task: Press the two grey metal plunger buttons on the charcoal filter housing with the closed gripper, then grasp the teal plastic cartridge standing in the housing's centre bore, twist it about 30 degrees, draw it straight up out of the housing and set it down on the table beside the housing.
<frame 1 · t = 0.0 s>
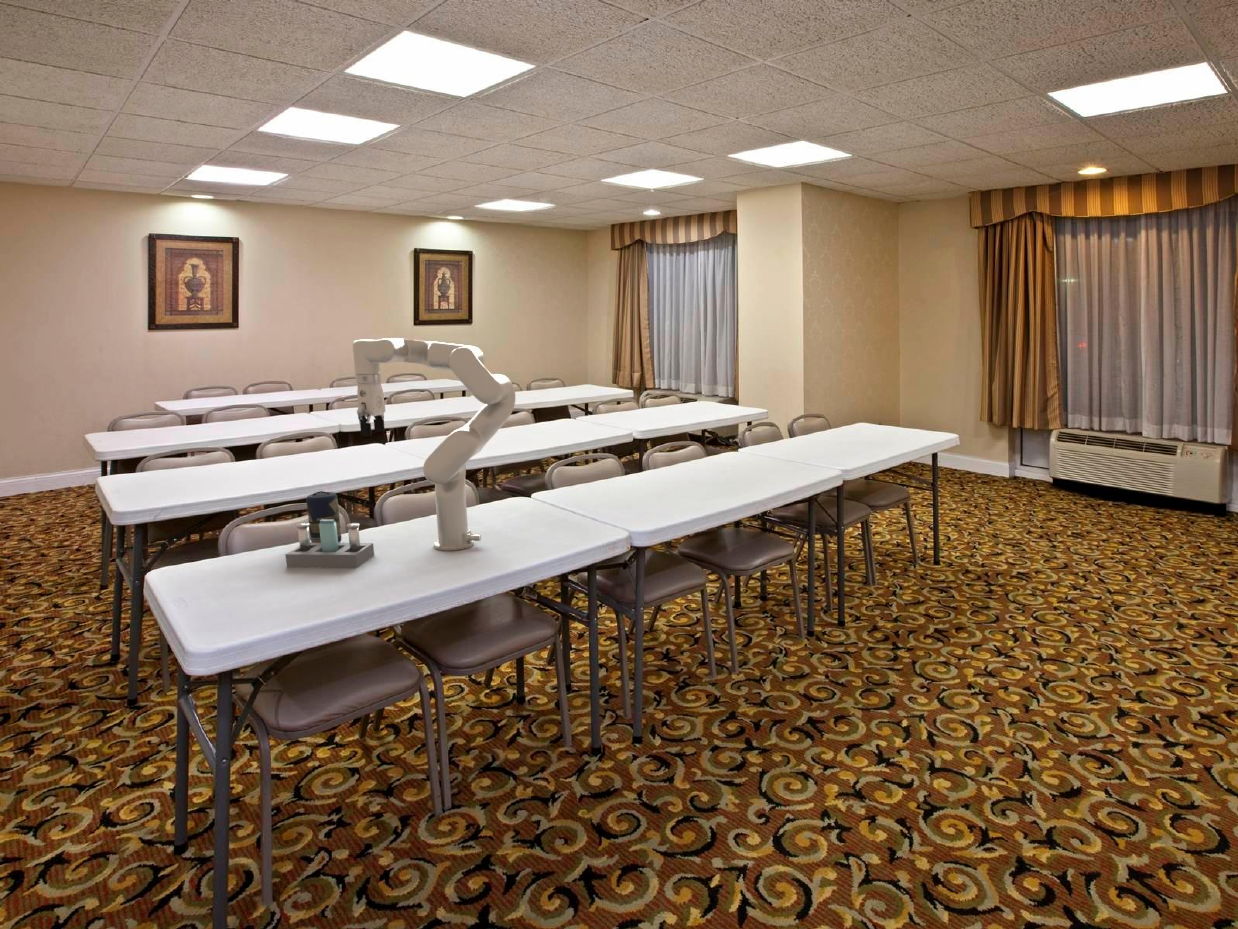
hand: (373, 433, 236), 37 cm above the table, tool pointing down, fingers open, 9 cm apart
plunger 2: (354, 538, 225), point 7 cm above the table, slide at 0.0 cm
cartridge: (329, 540, 226), in the housing
housing: (331, 561, 227), on the table
plunger 1: (304, 537, 227), point 7 cm above the table, slide at 0.0 cm
canister: (326, 545, 245), on the table
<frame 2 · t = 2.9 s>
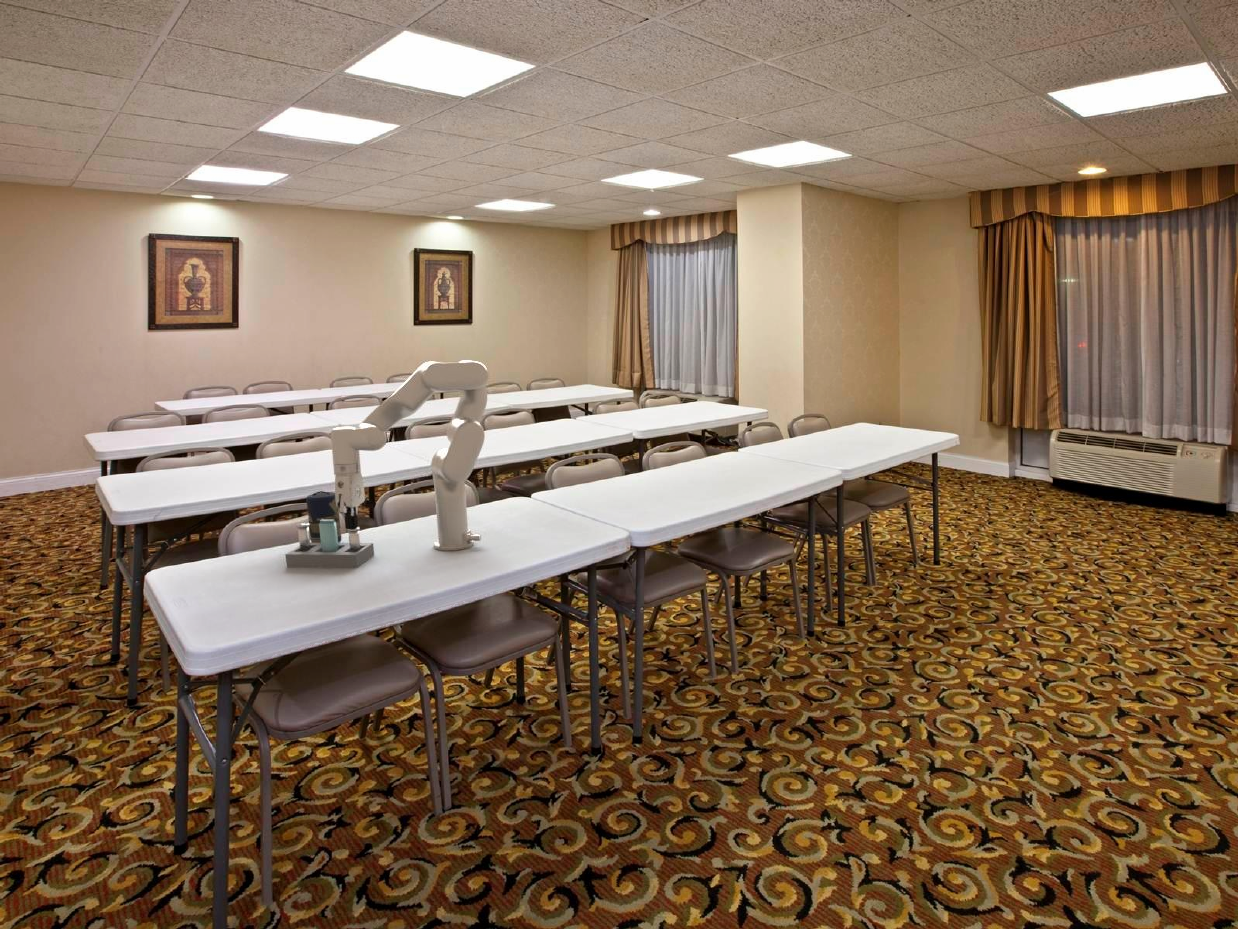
hand: (351, 528, 224), 11 cm above the table, tool pointing down, fingers closed
plunger 2: (354, 541, 225), point 6 cm above the table, slide at 1.1 cm, touching gripper
everything else where it was.
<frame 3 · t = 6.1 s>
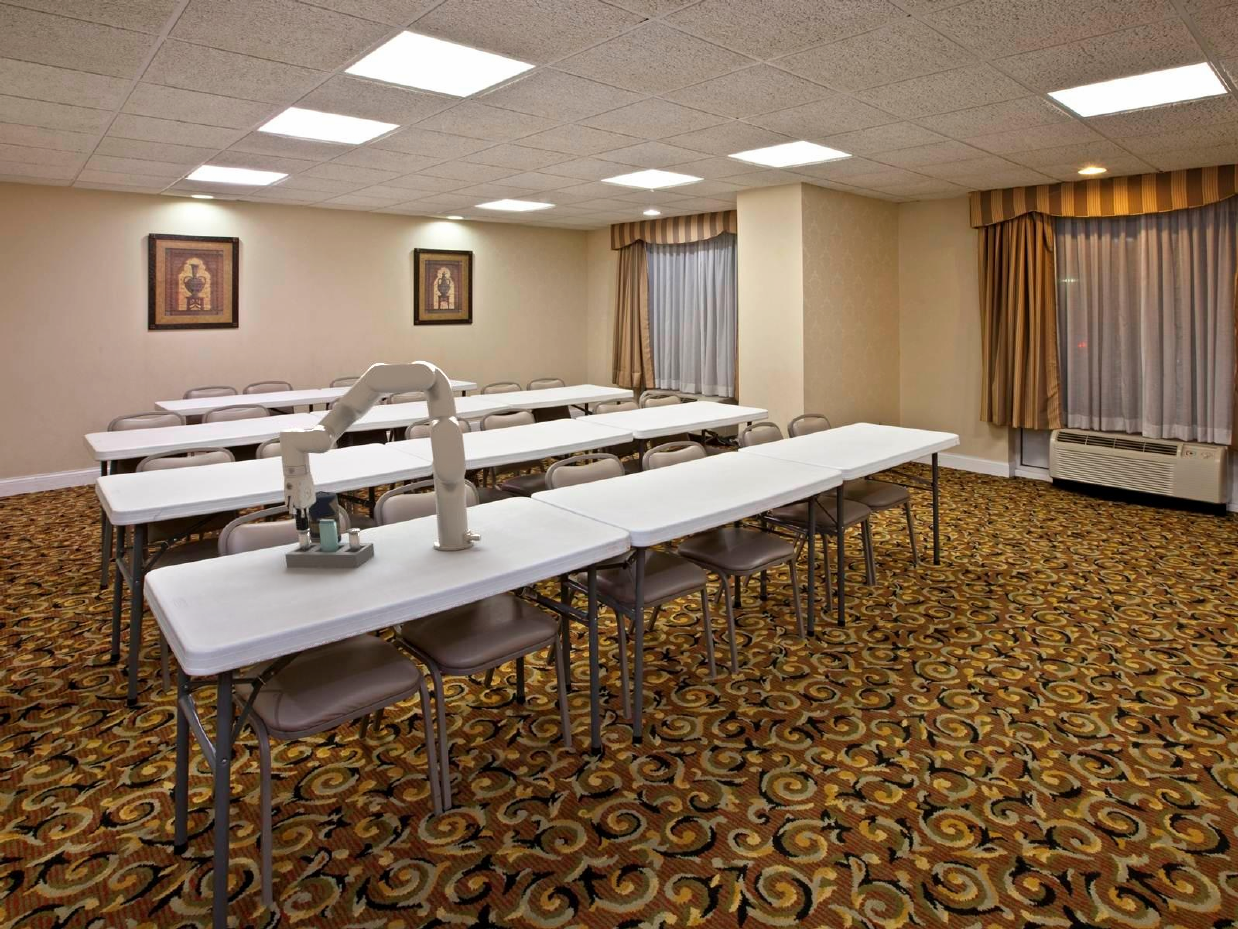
hand: (302, 529, 226), 10 cm above the table, tool pointing down, fingers closed
plunger 2: (354, 543, 225), point 6 cm above the table, slide at 1.7 cm
plunger 1: (304, 542, 227), point 6 cm above the table, slide at 1.6 cm, touching gripper
everything else where it was.
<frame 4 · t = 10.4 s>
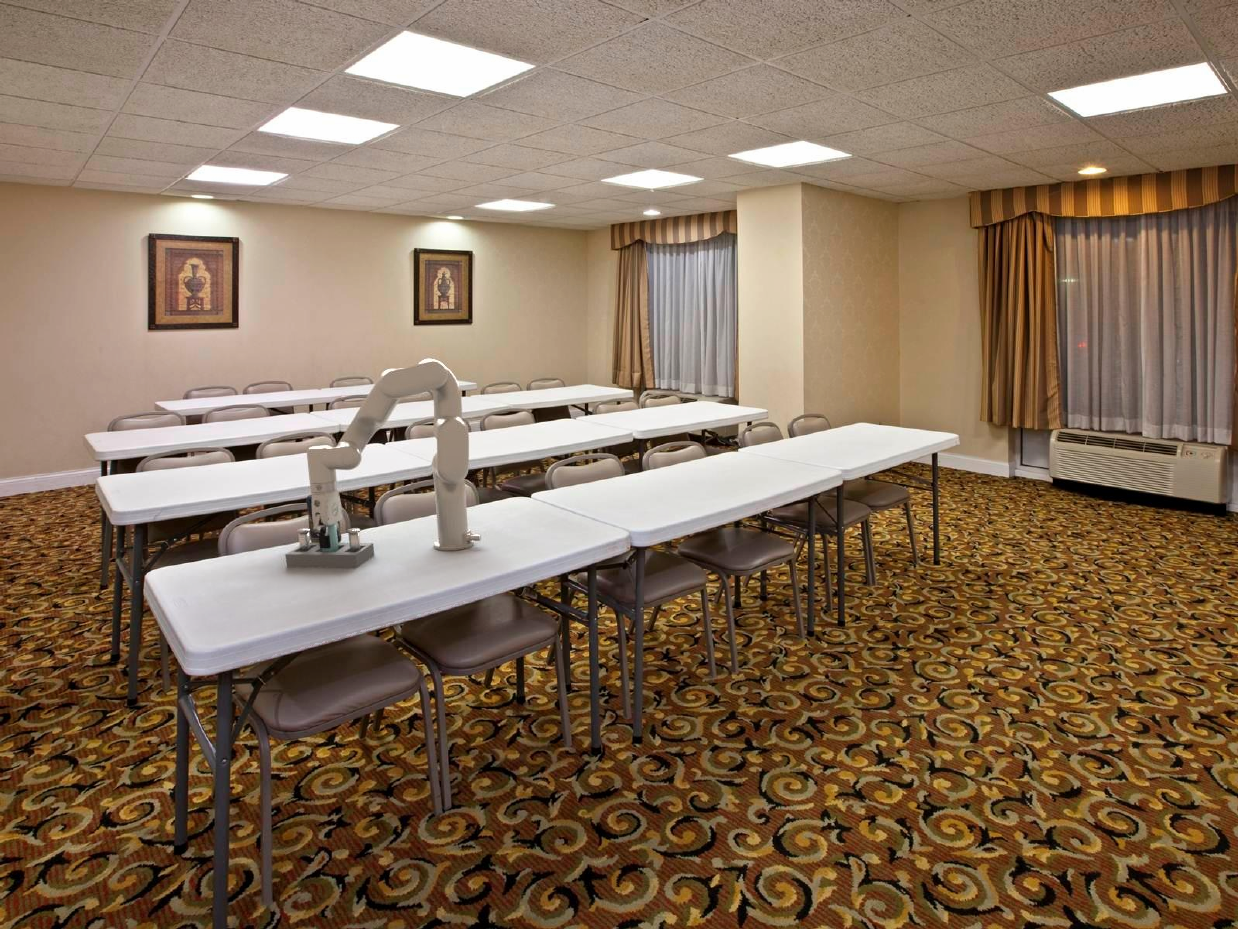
hand: (329, 544, 226), 5 cm above the table, tool pointing down, fingers closed on cartridge, 4 cm apart
cartridge: (329, 540, 226), in the housing, touching gripper
plunger 1: (304, 543, 227), point 6 cm above the table, slide at 1.7 cm
everything else where it was.
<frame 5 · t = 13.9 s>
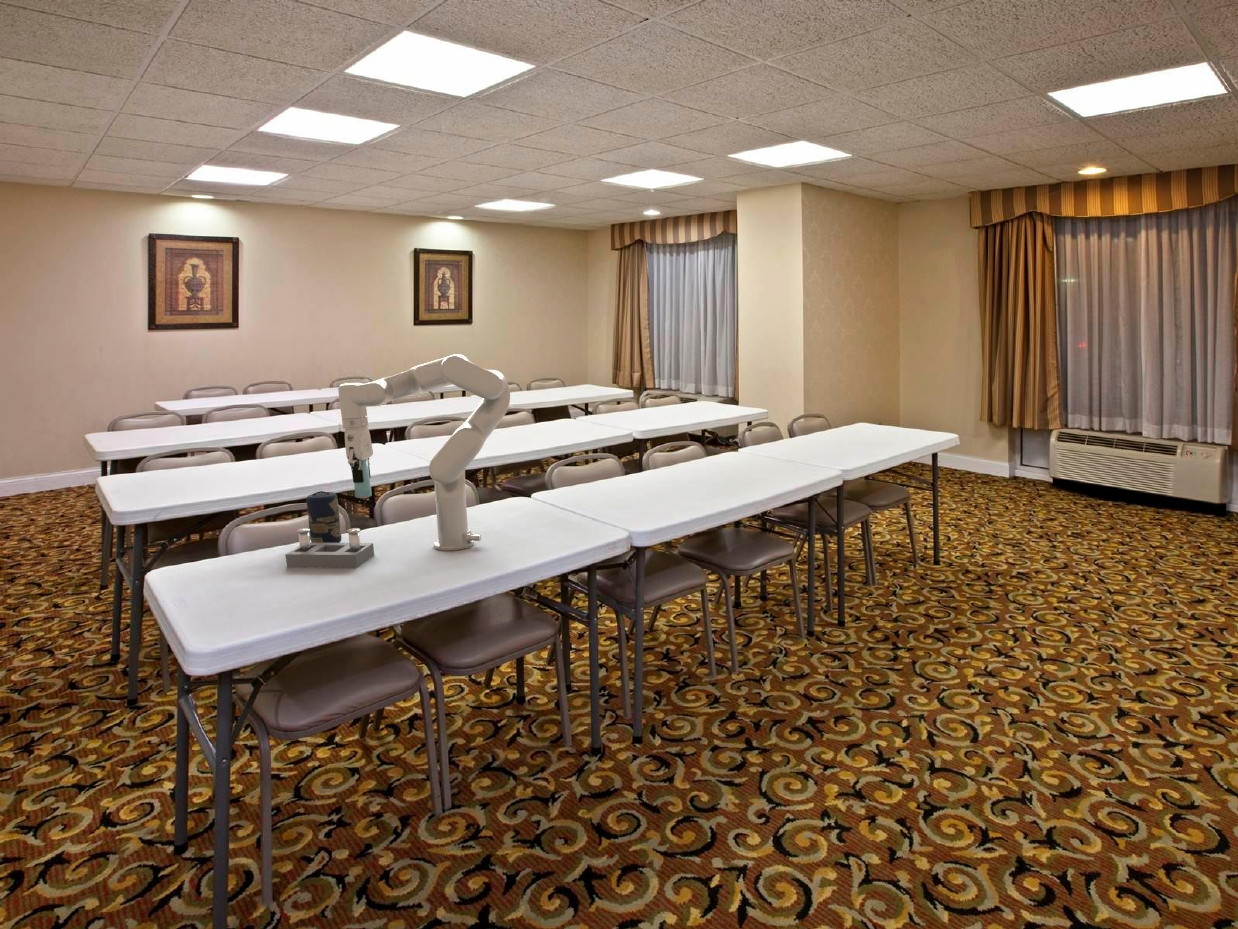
hand: (362, 480, 233), 23 cm above the table, tool pointing down, fingers closed on cartridge, 4 cm apart
cartridge: (361, 476, 233), point 24 cm above the table, touching gripper
everything else where it was.
when the fingers open (7 cm above the table, at t = 17.5 s): cartridge drops 2 cm, on the table.
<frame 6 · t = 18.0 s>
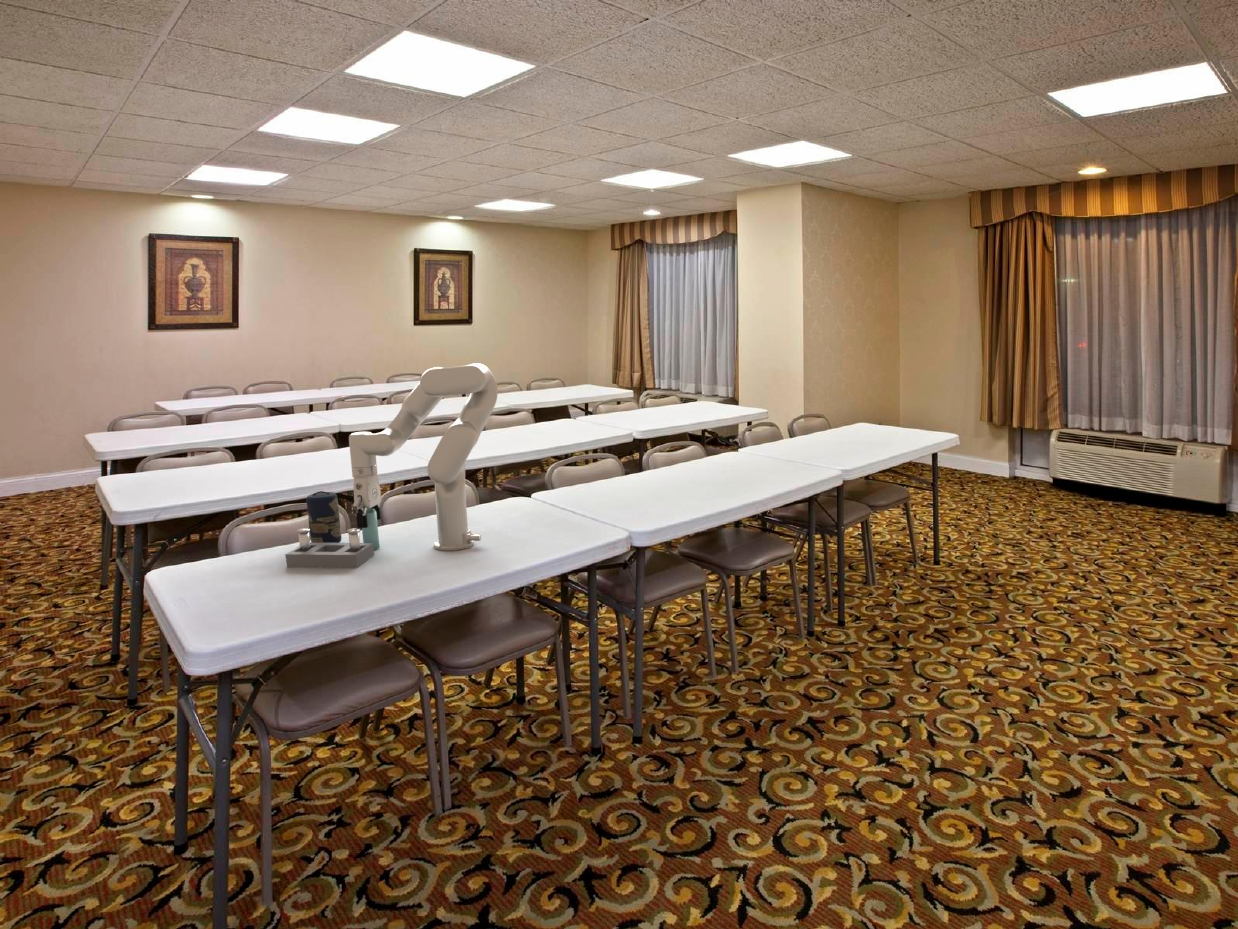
hand: (369, 523, 237), 8 cm above the table, tool pointing down, fingers open, 9 cm apart
cartridge: (370, 529, 238), on the table
everything else where it was.
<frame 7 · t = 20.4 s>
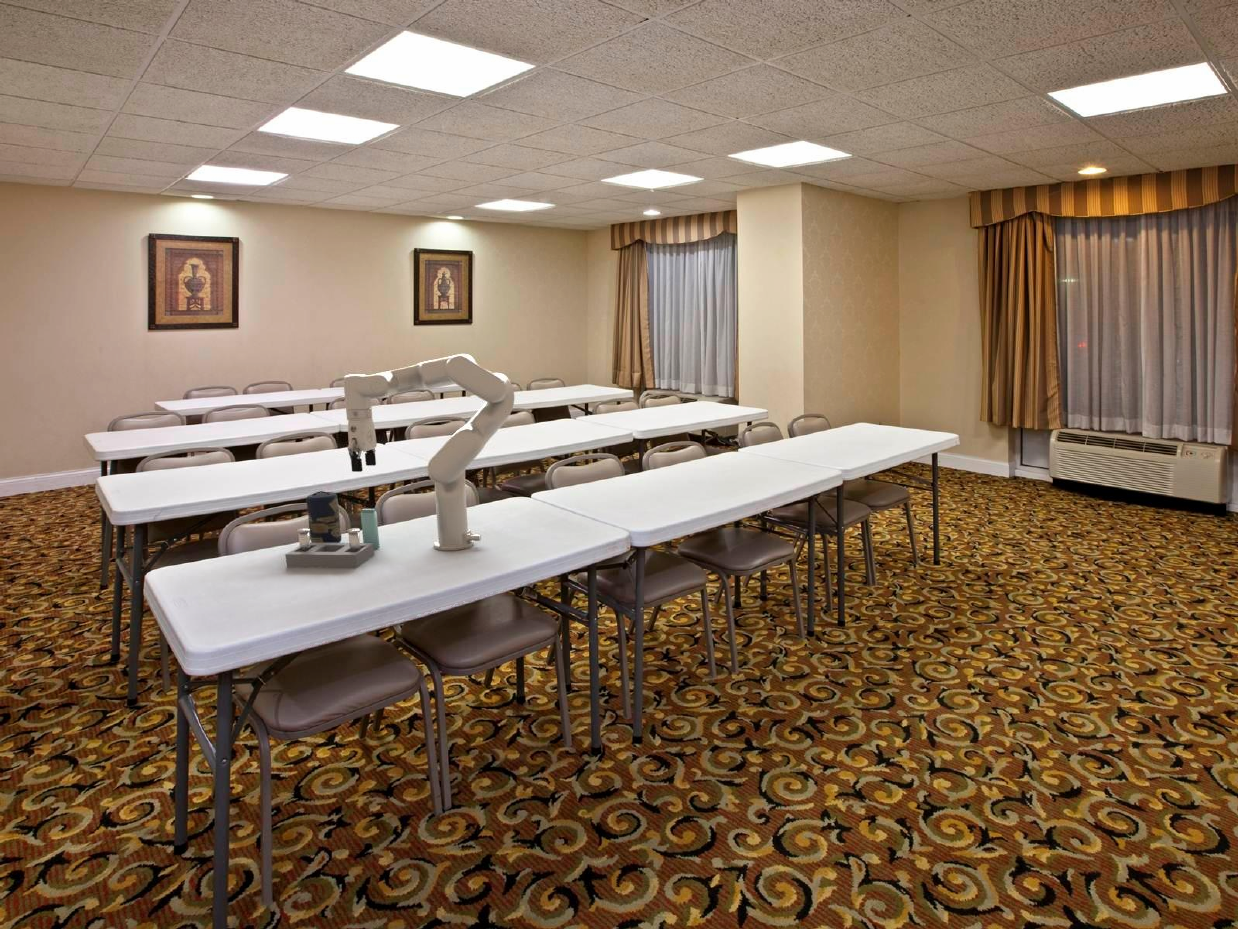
hand: (364, 468, 234), 26 cm above the table, tool pointing down, fingers open, 9 cm apart
nothing on the table moved.
at the end: cartridge inside the target area (0.0 cm from its centre), on the table; cartridge tilted 0°; cartridge touching table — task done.
